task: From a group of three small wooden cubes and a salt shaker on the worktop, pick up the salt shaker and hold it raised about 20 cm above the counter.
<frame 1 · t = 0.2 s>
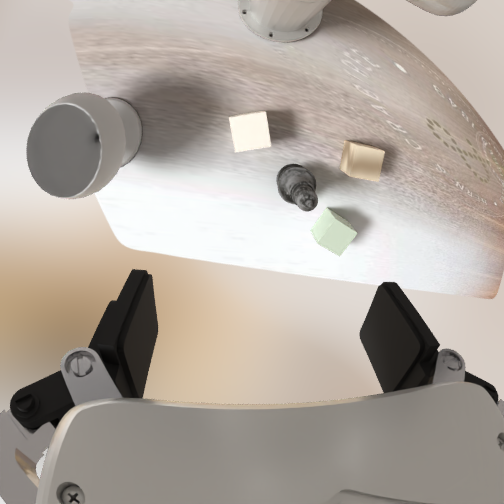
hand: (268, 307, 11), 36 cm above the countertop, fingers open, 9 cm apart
beech cube: (355, 156, 44), on the countertop
sage painted cube: (329, 225, 50), on the countertop
chalice: (108, 133, 39), on the countertop
salt shaker: (292, 179, 45), on the countertop
cream painted cube: (248, 128, 41), on the countertop
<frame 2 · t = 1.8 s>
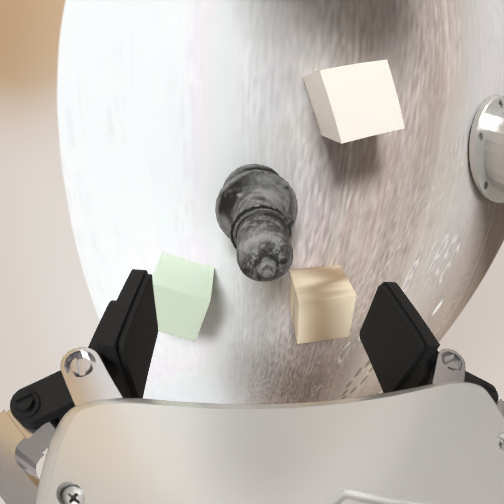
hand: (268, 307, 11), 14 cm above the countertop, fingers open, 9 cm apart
beech cube: (313, 287, 29), on the countertop
sage painted cube: (182, 280, 27), on the countertop
salt shaker: (253, 194, 24), on the countertop
cream painted cube: (340, 99, 20), on the countertop
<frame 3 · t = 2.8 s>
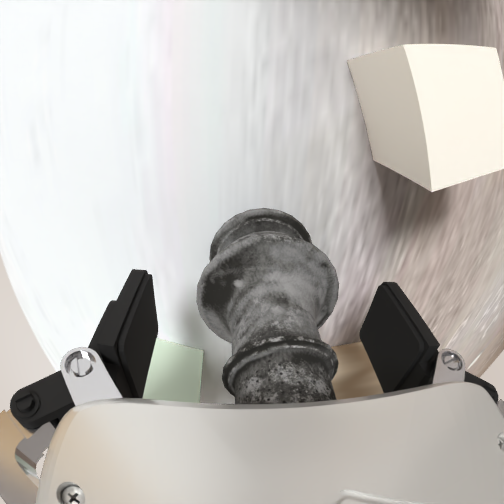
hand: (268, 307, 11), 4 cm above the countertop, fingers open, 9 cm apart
beech cube: (339, 365, 20), on the countertop
sage painted cube: (161, 361, 19), on the countertop
salt shaker: (261, 255, 15), on the countertop
cream painted cube: (403, 102, 11), on the countertop
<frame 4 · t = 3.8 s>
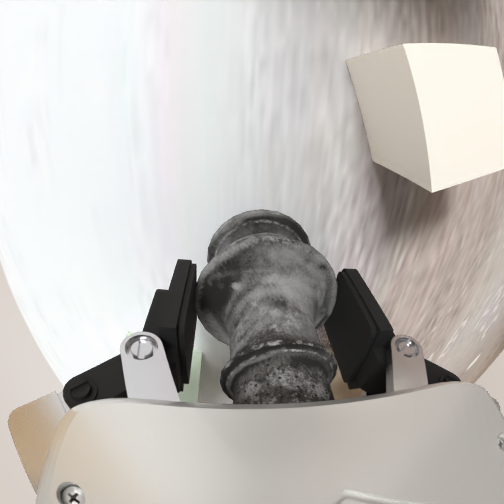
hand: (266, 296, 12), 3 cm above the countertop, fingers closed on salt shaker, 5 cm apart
beech cube: (338, 367, 20), on the countertop
sage painted cube: (159, 363, 18), on the countertop
salt shaker: (259, 257, 15), on the countertop, touching gripper
cream painted cube: (402, 102, 11), on the countertop
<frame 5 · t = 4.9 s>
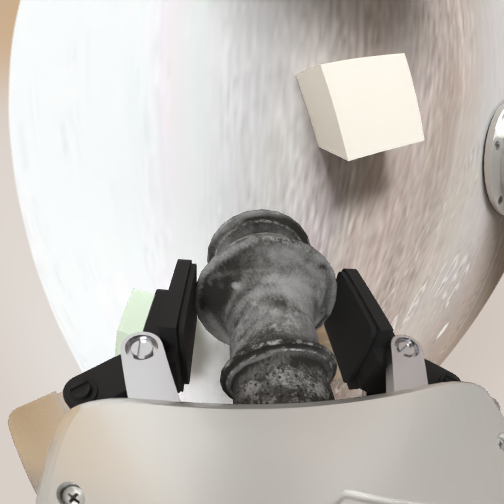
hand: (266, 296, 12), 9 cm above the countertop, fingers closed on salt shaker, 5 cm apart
sage painted cube: (158, 318, 23), on the countertop
salt shaker: (259, 256, 15), point 5 cm above the countertop, touching gripper
cream painted cube: (341, 102, 16), on the countertop
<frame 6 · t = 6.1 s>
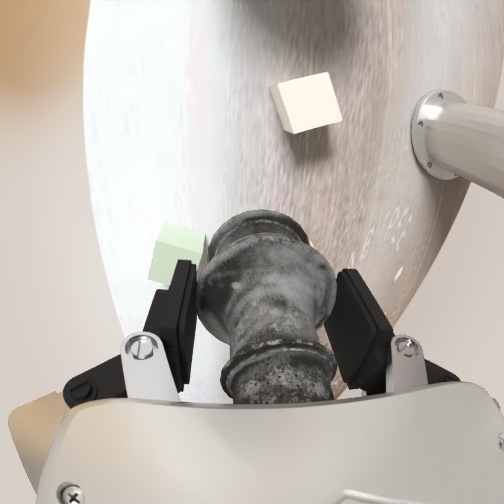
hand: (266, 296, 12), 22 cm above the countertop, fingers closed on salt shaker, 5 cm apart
sage painted cube: (179, 245, 35), on the countertop
salt shaker: (259, 256, 15), point 18 cm above the countertop, touching gripper
cream painted cube: (298, 102, 28), on the countertop
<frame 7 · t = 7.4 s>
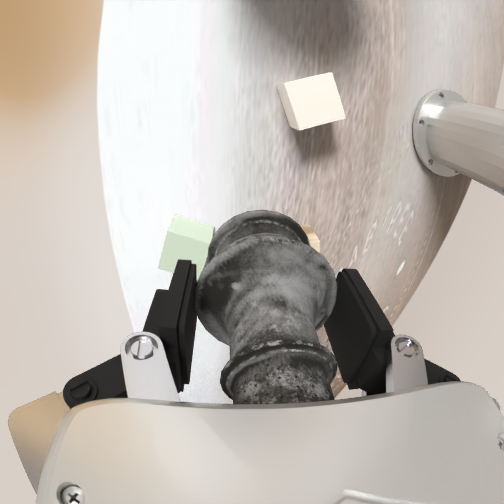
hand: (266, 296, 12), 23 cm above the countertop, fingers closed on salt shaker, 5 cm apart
beech cube: (290, 243, 37), on the countertop
sage painted cube: (189, 237, 36), on the countertop
salt shaker: (259, 257, 15), point 20 cm above the countertop, touching gripper
cream painted cube: (303, 101, 29), on the countertop
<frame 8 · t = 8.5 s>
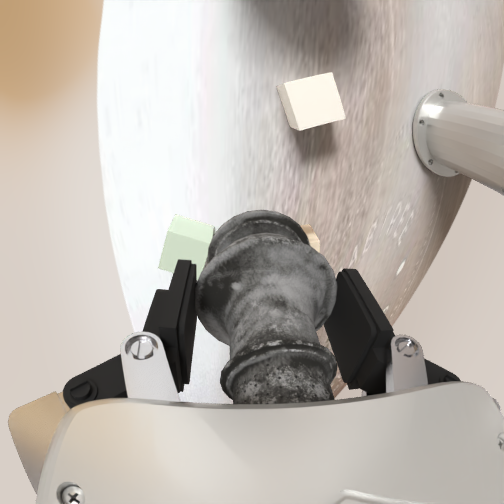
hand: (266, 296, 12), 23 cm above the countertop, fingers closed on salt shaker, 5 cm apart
beech cube: (290, 243, 37), on the countertop
sage painted cube: (189, 237, 36), on the countertop
salt shaker: (259, 257, 15), point 20 cm above the countertop, touching gripper
cream painted cube: (303, 101, 29), on the countertop
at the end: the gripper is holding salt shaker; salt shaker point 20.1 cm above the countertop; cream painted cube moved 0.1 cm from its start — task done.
